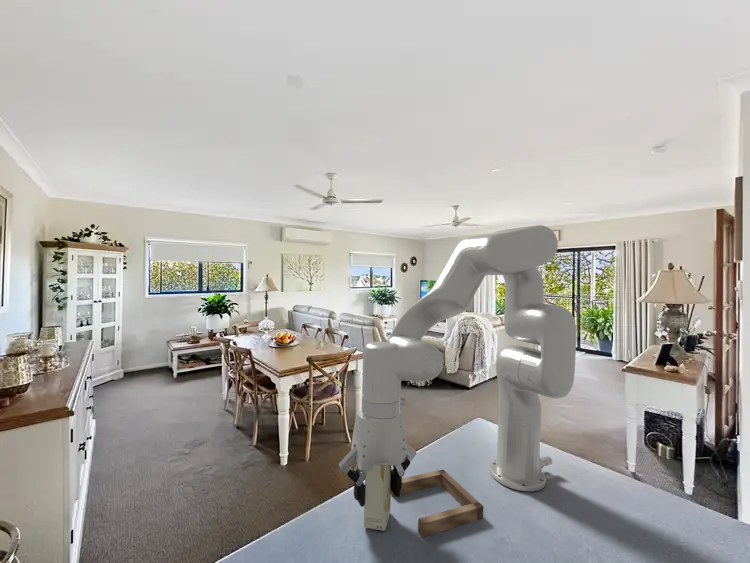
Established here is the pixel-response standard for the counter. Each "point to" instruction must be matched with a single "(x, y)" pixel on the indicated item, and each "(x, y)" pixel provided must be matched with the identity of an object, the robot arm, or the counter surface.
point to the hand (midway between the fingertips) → (377, 496)
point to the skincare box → (377, 496)
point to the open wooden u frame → (448, 518)
